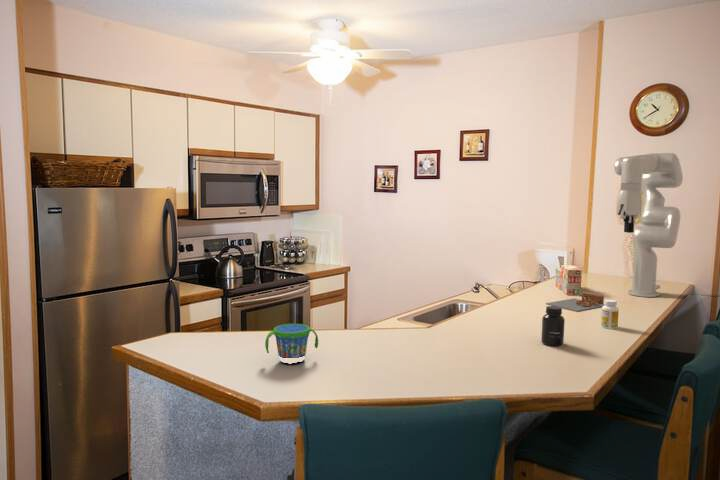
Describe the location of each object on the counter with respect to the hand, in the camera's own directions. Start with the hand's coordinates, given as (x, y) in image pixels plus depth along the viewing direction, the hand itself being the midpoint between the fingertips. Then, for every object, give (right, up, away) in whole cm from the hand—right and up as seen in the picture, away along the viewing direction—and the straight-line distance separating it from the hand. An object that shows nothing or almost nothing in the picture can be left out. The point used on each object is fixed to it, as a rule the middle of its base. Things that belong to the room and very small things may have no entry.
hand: (628, 232), depth 221 cm
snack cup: (-131, -39, -62) cm, 150 cm away
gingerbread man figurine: (-10, -28, +10) cm, 31 cm away
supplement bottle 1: (-48, -37, -47) cm, 77 cm away
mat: (-20, -31, +6) cm, 37 cm away
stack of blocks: (-11, -28, +36) cm, 47 cm away
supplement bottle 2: (-21, -35, -28) cm, 49 cm away
